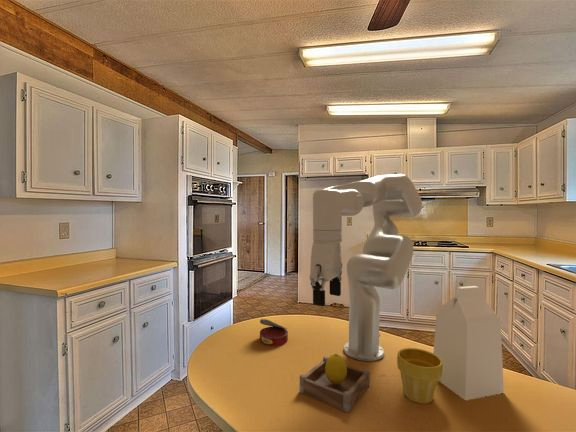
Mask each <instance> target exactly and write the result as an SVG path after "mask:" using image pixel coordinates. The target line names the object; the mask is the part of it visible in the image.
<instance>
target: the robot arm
mask: <svg viewBox="0 0 576 432" xmlns="http://www.w3.org/2000/svg"><path fill="white" fill-rule="evenodd" d="M422 203H423V202H422V198H421V196H420V194H419V192H418V190H417V188H416V186H415V184H414V183H413V181H412V180H411V179H410V177H409V176H407V175H406V174H402V173H399V174H398V173H396V174H381V175H375V176H372V177H369V178H366V179H363V180H358V181H352V182H349V183H344V184H340V185H334V186H329V187H326V188H323V189H316V190H315V191H314V192H313V194H312V246H311V255H310V268H309V269H310V270H309V271H310V272H309V273H310V274H309V280H310V286H311V289H312V304H313V305H314V306H319V307H324V306H325V305H326V290H325V286H326V283H327V282H329V295H331V296H334V297H335V296H337V297H340V296H341V294H342V284H341V283H342V274H343V273H342V272H343V271H342V269H343V262H342V250H341V248H342V246H341V243H342V241H343V240H342V238H343V237H342V235H343V232H342V229H343V227H342V217H353V216H356V215H358V214H359V213H361V212H362V210H363V209H364V208H368V207H371V206H372V211H373V214H372V215H373V220H374V224H373V225H374V226H373V228H372V230H371V232H370V233H369V235H368V237H367V238H366V240H365V242H364V244H363V249H362V253H359V254H358V253H357V254H353V255H352V256H350V257H349V258H348V260H347V262H346V274H347V280H348V290H349V291H348V293H349V300H348V301H349V304H348V305H349V306H348V341H347V342H346V343H345V344H343V351H344V353H345V354H346V355H347V356H348V357H350V358H351V359H354V360H359V361H362V362H363V361H364V362H373V361H374V362H375V361H379V360H381V359H382V358H383V357H384V356H385V350H384V348H383V347H382V346H380V337H381V334H380V314H381V313H380V310H381V309H380V306H381V300H380V296H379V292H378V291H377V289H376V288H381V289H387V290H396V289H398V288H400V286H401V285H402V283H403V280H404V279H405V276H406V274H407V271H408V269H409V267H410V265H411V262H412V260H413V255H414V243H413V241H412V239H411V238H410V237H409V236H407V235H404V234H399V229H398V227H397V224H395V222H394V221H393V220H392V219H391V217H392V218H393V217H397V218H401V217H403V218H414V217H417V216H418V215H420V213H421V212H422V209H423V204H422ZM320 282H321V283H320Z"/></svg>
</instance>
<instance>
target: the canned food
mask: <svg viewBox="0 0 576 432" xmlns="http://www.w3.org/2000/svg"><path fill="white" fill-rule="evenodd" d="M259 323H260V324H261V325H264V326H267V327H263V328H261V330H259V342H260V344H262V345H265V346H268V347H279V346H284V345H285V344H287V343H288V339H289V338H288V337H289V336H288V335H289V331H288V328H287V327H285V326H282V325H279V324H278V323H276V322H273V321H272V320H269V319H265V318H264V319H262V318H261V319H260V320H259Z"/></svg>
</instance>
